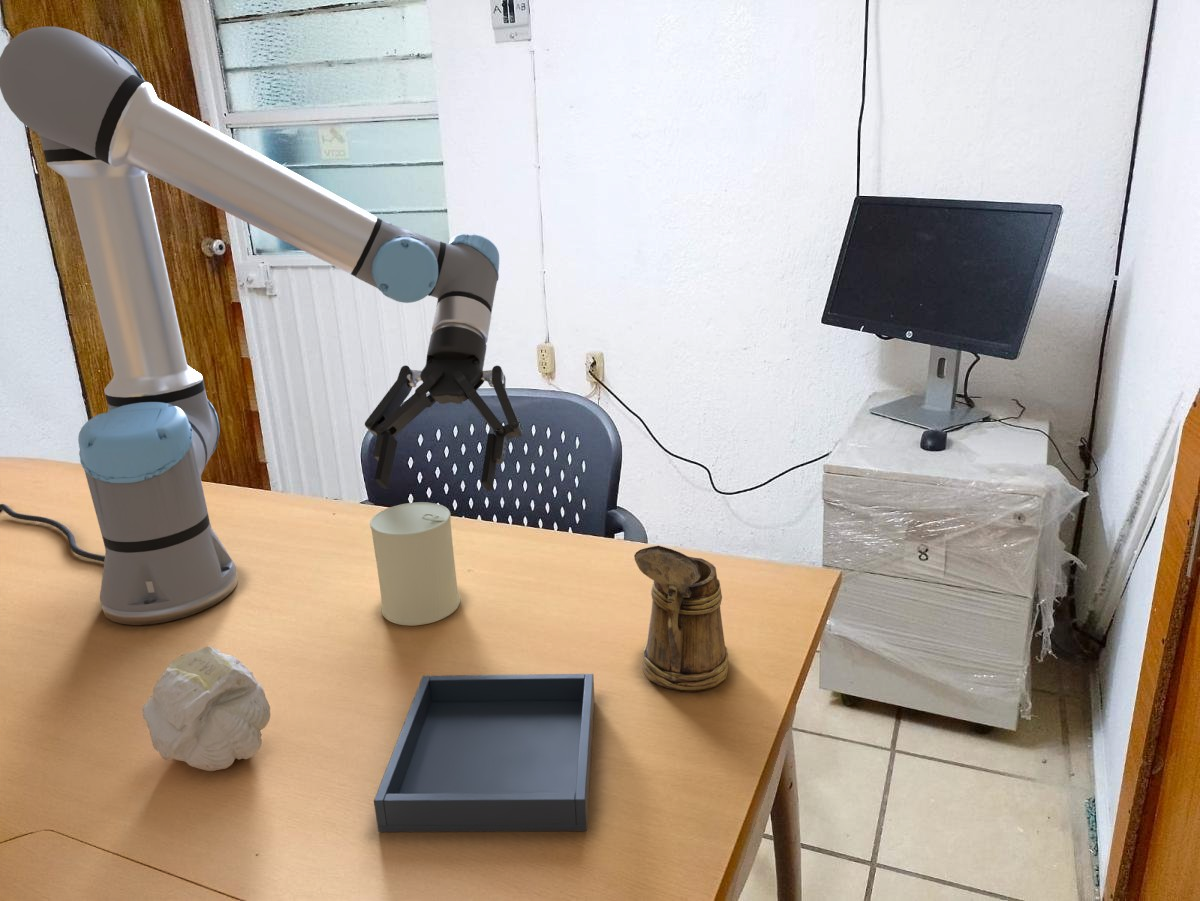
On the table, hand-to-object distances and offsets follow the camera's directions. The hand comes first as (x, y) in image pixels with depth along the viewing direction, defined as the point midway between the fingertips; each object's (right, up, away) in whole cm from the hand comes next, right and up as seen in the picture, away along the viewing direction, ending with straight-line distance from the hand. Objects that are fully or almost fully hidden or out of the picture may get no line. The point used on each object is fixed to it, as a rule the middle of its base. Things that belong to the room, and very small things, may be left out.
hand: (433, 485), depth 102 cm
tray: (+11, -23, -29) cm, 39 cm away
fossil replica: (-15, -23, -26) cm, 38 cm away
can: (-1, -14, -3) cm, 15 cm away
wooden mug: (+29, -19, -19) cm, 39 cm away
